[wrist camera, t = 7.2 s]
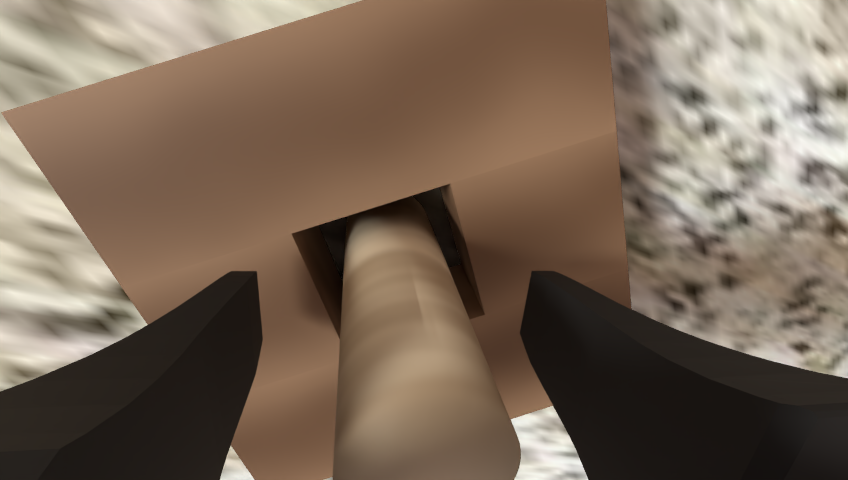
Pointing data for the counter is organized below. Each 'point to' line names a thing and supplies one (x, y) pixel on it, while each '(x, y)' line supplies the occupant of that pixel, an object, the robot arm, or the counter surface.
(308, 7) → the counter surface
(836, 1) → the counter surface
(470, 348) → the beech peg
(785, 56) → the counter surface
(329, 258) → the hole block
